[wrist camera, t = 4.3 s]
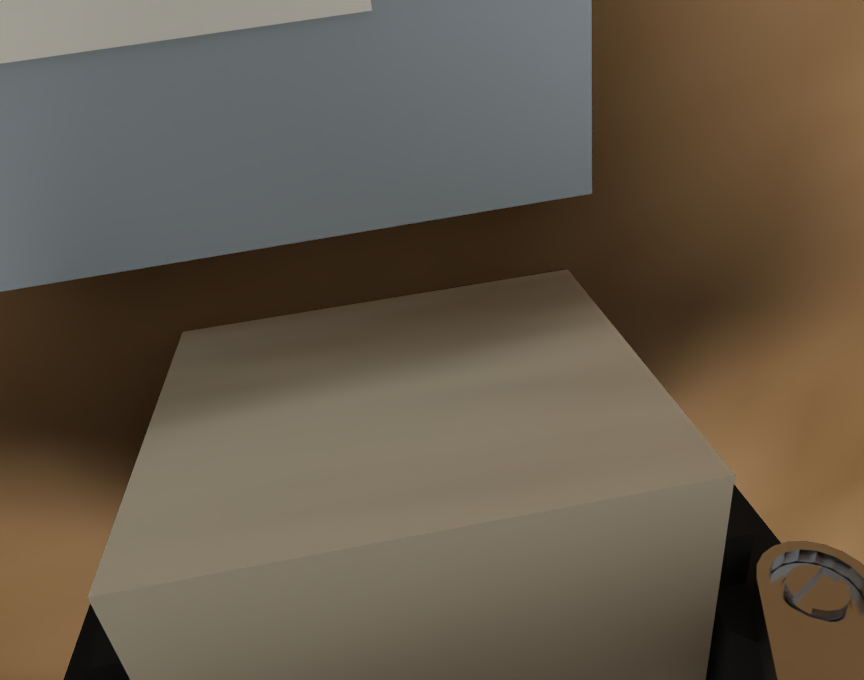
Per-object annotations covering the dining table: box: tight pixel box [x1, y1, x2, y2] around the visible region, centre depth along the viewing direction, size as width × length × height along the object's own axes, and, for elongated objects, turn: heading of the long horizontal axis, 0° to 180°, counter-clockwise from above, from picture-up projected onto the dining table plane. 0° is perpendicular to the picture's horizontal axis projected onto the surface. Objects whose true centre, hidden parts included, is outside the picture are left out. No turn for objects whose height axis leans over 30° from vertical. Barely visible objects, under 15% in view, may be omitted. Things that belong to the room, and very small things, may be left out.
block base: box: [87, 269, 735, 680], centre depth 10 cm, size 6×6×5 cm
